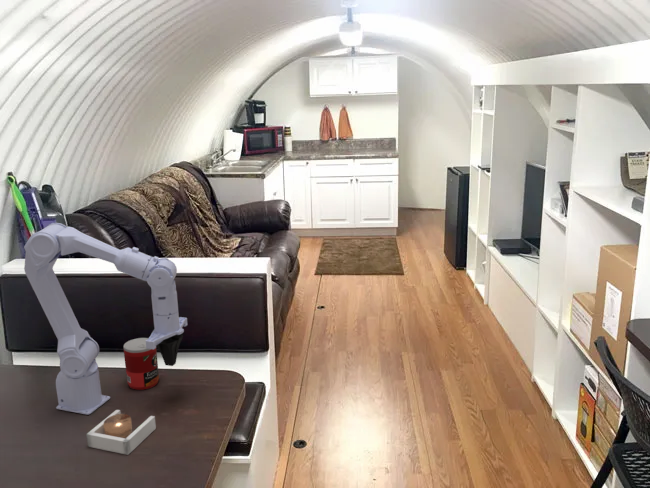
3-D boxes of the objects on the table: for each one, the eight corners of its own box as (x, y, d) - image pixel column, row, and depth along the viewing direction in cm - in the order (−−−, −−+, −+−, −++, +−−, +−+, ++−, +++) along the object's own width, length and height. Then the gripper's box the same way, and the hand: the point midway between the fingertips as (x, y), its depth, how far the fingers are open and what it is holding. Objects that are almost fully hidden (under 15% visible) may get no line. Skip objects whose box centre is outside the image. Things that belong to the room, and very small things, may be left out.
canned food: (150, 391, 142) (146, 351, 139) (121, 389, 144) (116, 349, 141) (164, 377, 149) (161, 338, 147) (137, 374, 151) (132, 336, 148)
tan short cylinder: (100, 444, 121) (98, 427, 120) (113, 429, 127) (111, 413, 126) (125, 445, 120) (123, 429, 119) (137, 430, 126) (135, 414, 125)
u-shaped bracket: (87, 446, 120) (86, 434, 119) (118, 421, 129) (116, 409, 129) (128, 454, 117) (126, 442, 117) (155, 428, 126) (154, 416, 126)
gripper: (163, 324, 125) (168, 380, 128) (196, 302, 138) (200, 353, 141) (135, 321, 127) (141, 376, 130) (171, 299, 140) (175, 349, 144)
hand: (170, 364), depth 136 cm, fingers closed
